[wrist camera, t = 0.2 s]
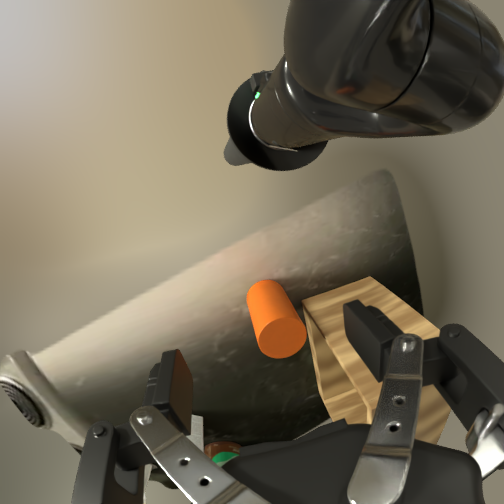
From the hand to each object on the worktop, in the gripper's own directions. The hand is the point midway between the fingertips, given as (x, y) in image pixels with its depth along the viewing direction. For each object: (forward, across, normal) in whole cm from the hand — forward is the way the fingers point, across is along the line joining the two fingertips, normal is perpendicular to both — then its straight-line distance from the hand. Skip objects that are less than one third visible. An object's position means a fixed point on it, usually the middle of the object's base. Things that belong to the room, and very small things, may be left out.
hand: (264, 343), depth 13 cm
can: (+26, -2, +11) cm, 28 cm away
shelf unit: (+26, -13, +24) cm, 38 cm away
